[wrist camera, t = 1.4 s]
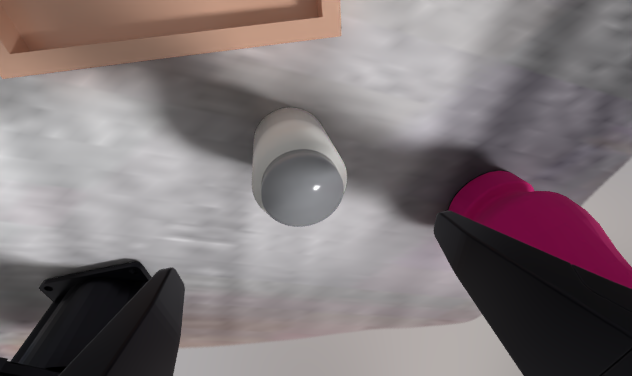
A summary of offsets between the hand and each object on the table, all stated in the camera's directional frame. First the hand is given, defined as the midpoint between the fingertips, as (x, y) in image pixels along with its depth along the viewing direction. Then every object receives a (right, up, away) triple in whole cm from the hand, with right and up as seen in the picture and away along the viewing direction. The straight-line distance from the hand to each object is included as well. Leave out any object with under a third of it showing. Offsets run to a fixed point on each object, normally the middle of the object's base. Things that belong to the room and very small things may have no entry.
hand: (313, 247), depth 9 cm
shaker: (-2, +5, +7) cm, 9 cm away
